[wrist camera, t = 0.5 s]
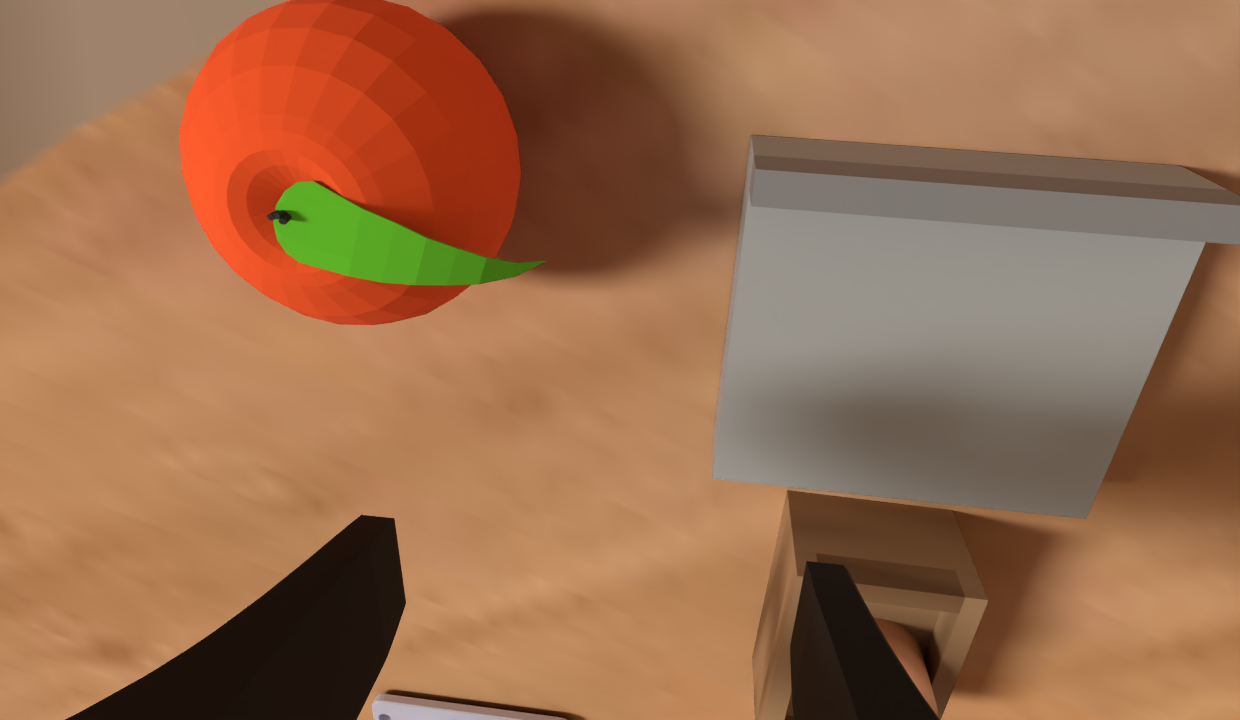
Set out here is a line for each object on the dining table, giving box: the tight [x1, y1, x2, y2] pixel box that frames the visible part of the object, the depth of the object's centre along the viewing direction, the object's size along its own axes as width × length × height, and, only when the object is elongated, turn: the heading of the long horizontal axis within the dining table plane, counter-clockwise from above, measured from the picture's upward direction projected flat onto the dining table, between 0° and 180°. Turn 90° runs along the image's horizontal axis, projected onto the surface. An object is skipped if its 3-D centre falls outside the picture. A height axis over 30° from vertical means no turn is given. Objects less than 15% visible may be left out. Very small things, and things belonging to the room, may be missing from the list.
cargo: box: [874, 618, 938, 716], centre depth 22 cm, size 3×3×2 cm
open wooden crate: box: [752, 490, 989, 720], centre depth 24 cm, size 8×5×4 cm, turn 176°
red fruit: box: [180, 0, 546, 325], centre depth 17 cm, size 8×7×7 cm
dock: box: [712, 135, 1240, 519], centre depth 19 cm, size 9×10×3 cm
